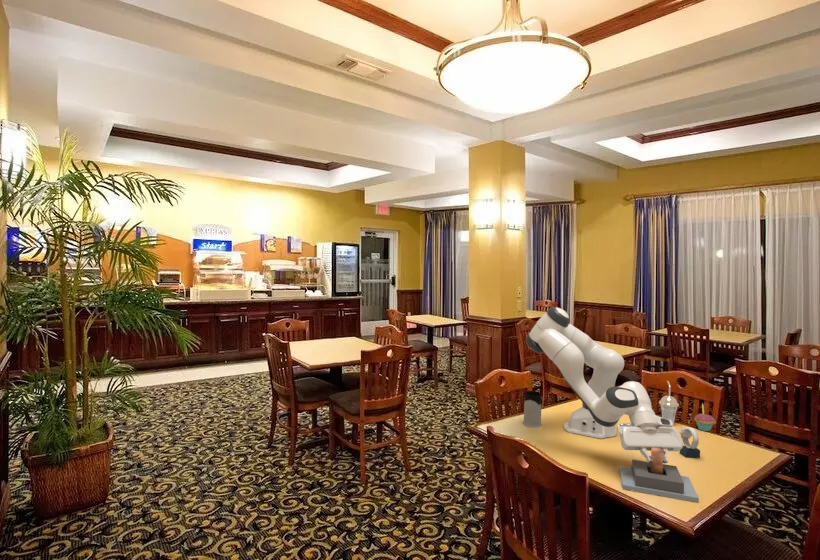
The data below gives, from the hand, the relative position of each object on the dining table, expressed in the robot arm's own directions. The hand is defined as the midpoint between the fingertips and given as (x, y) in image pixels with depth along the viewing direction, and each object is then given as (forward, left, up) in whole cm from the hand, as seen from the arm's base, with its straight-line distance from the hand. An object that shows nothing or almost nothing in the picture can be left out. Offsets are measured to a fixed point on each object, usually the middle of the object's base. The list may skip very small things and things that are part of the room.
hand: (657, 462), depth 155 cm
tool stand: (0, +1, -8) cm, 8 cm away
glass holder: (-46, +49, -8) cm, 68 cm away
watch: (+16, +35, -8) cm, 39 cm away
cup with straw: (+14, +74, -8) cm, 76 cm away
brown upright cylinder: (0, 0, -6) cm, 6 cm away
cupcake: (+29, +73, -8) cm, 79 cm away
